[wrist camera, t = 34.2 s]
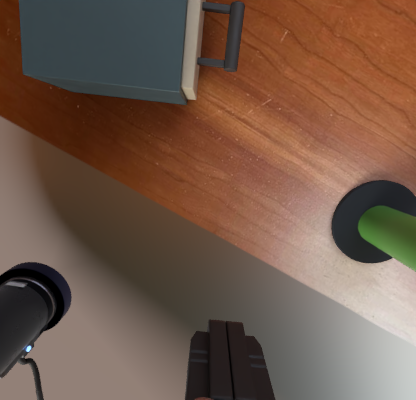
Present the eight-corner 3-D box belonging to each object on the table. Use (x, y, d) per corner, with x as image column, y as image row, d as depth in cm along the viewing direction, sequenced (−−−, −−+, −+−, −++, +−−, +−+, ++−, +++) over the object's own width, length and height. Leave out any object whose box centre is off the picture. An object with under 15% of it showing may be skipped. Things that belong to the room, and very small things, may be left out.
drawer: (243, -2, 29) (253, -45, 22) (230, 103, 31) (235, 93, 25) (86, -22, 28) (49, -71, 22) (86, 87, 31) (53, 72, 24)
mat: (403, 265, 37) (406, 267, 36) (323, 257, 37) (325, 258, 36) (428, 185, 34) (432, 186, 34) (342, 175, 34) (344, 176, 33)
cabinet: (196, -10, 29) (191, -70, 21) (186, 105, 32) (179, 92, 24) (70, -25, 29) (13, -93, 21) (71, 91, 32) (22, 74, 23)
